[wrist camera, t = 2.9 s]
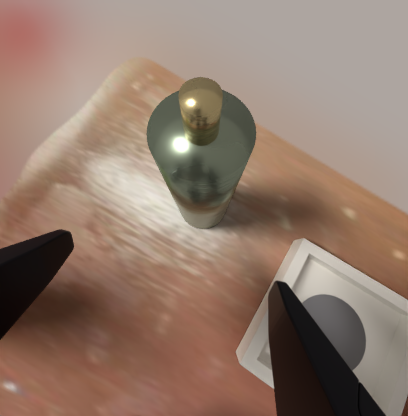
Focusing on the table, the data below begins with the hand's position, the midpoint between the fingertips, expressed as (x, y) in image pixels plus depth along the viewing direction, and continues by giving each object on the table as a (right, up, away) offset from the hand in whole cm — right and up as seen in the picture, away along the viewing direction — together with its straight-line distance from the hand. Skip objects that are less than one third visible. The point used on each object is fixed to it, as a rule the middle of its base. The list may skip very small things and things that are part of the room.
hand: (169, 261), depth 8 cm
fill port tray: (+13, -9, +10) cm, 19 cm away
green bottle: (+1, +3, +13) cm, 13 cm away
